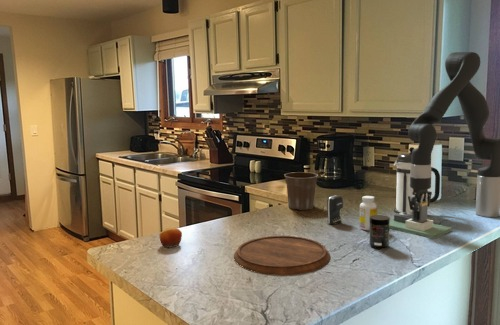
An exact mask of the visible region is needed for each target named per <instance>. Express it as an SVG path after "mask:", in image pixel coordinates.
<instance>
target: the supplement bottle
mask: <svg viewBox="0 0 500 325" xmlns="http://www.w3.org/2000/svg"><path fill="white" fill-rule="evenodd" d="M361 199H362V202H361V203H360V204H359V228H360V229H361V230H364V231H370V222H369V221H370V216H372V215H378V205H377V203H375V199H376V198H375V196H373V195H364V196H362V197H361Z"/></svg>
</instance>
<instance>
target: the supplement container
mask: <svg viewBox="0 0 500 325" xmlns="http://www.w3.org/2000/svg"><path fill="white" fill-rule="evenodd" d="M390 220H391V219H390V216H387V215H383V214H377V215H372V216H370V221H369V222H370V230H368V232H369V235H368V236H369V237H368V238H369V246H370V247H371V248H373V249H376V250H385V249H388V248H389V246H390V228H389V223H390Z"/></svg>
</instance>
